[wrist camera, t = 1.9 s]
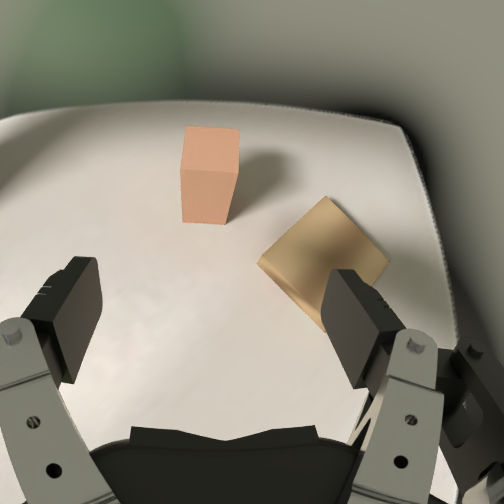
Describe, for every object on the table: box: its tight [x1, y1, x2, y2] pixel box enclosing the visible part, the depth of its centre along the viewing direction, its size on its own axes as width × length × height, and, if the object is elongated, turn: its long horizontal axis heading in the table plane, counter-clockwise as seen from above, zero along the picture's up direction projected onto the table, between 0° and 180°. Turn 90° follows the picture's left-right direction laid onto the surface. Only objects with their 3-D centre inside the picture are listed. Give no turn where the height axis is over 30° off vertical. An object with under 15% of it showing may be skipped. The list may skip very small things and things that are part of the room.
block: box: [180, 126, 239, 225], centre depth 26 cm, size 4×4×9 cm
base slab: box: [257, 196, 390, 333], centre depth 29 cm, size 9×9×3 cm
